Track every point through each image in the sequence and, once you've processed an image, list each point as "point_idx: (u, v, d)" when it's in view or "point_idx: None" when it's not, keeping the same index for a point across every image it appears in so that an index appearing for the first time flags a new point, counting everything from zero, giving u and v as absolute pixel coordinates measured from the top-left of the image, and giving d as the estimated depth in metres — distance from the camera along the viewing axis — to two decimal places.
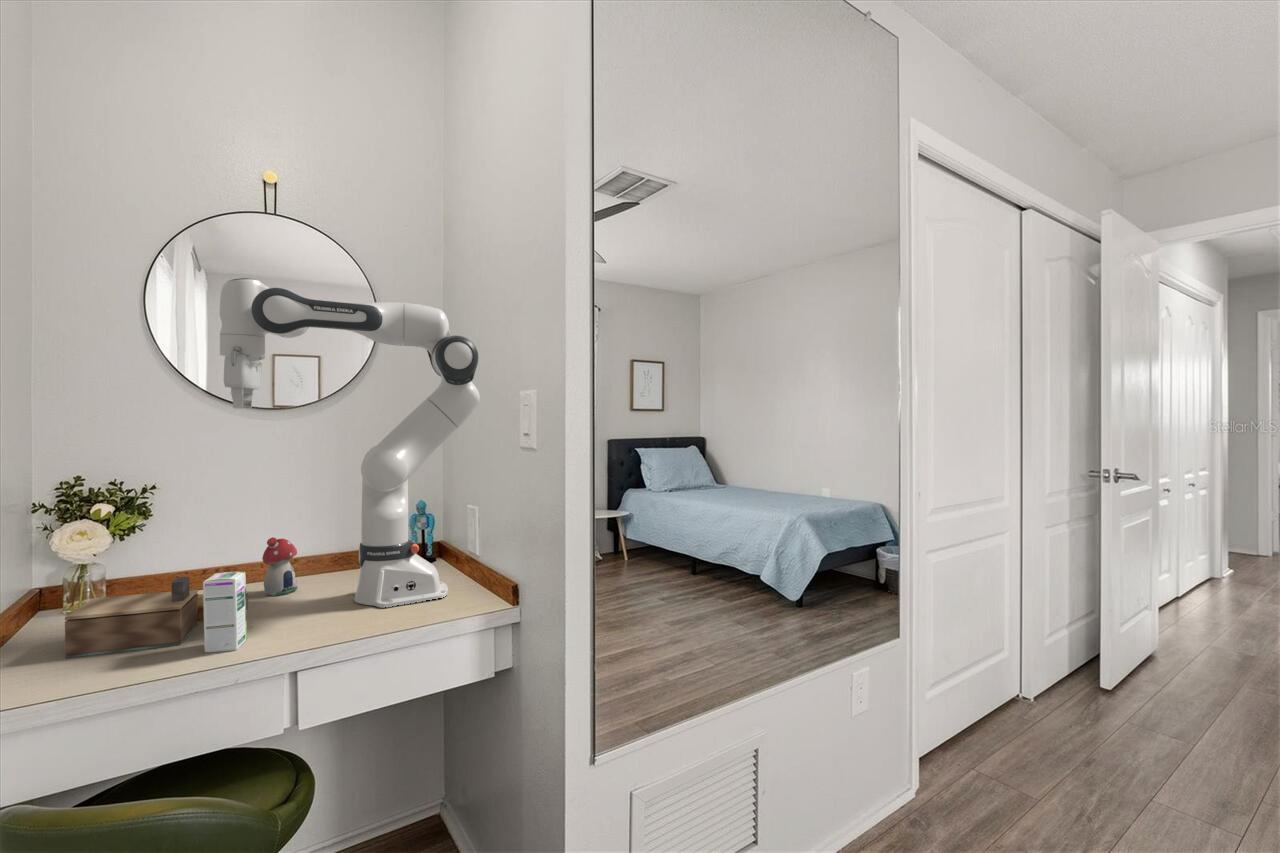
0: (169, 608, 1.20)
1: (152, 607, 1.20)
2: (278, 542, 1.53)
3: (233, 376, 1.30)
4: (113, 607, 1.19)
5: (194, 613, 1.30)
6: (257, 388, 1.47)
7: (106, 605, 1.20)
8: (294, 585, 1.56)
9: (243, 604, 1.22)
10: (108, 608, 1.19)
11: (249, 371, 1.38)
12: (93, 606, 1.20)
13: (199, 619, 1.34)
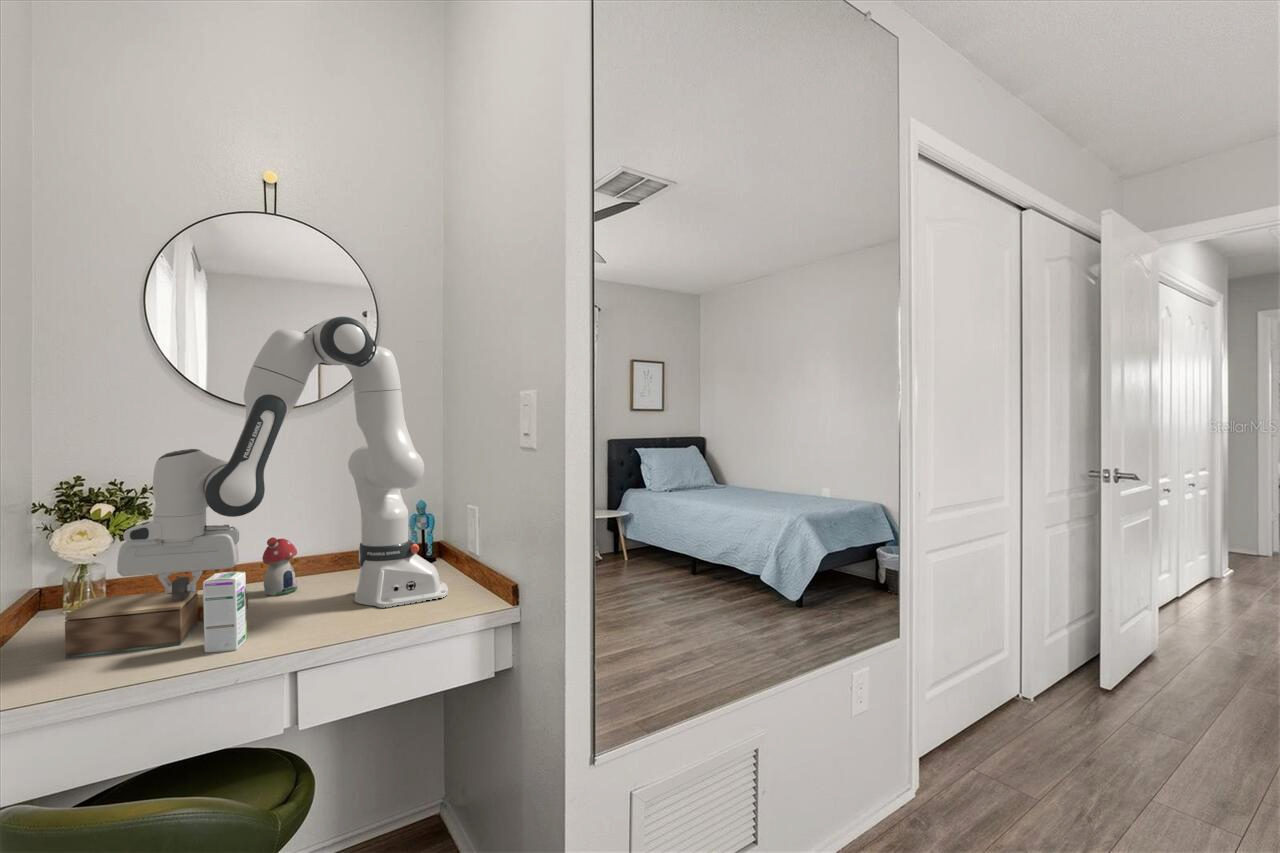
0: (169, 608, 1.20)
1: (152, 607, 1.20)
2: (278, 542, 1.53)
3: (237, 555, 1.29)
4: (113, 607, 1.19)
5: (194, 613, 1.30)
6: None
7: (106, 605, 1.20)
8: (294, 585, 1.56)
9: (243, 604, 1.22)
10: (108, 608, 1.19)
11: None
12: (93, 606, 1.20)
13: (201, 619, 1.34)
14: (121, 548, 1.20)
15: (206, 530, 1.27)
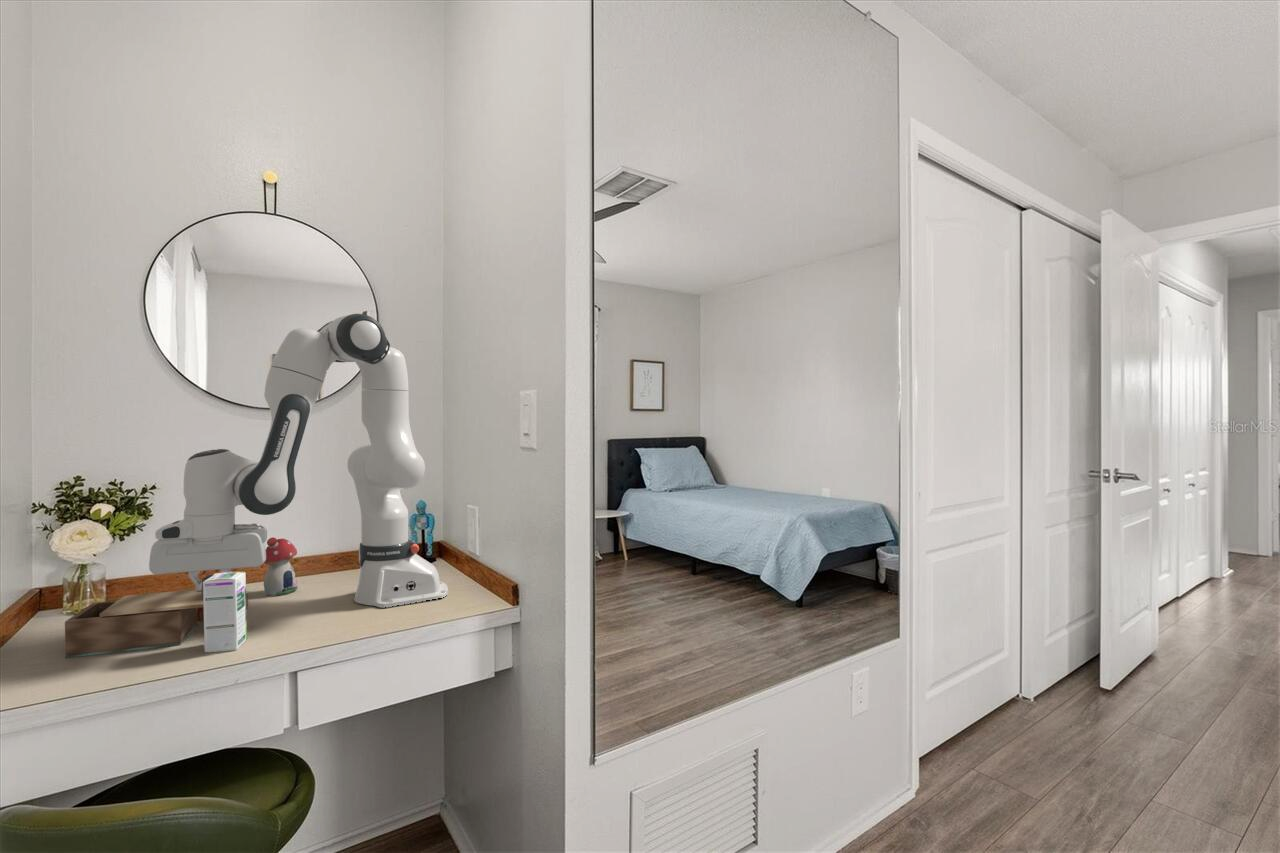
0: (200, 605, 1.22)
1: (184, 604, 1.22)
2: (278, 542, 1.53)
3: (264, 553, 1.31)
4: (145, 604, 1.21)
5: (194, 613, 1.30)
6: None
7: (138, 602, 1.22)
8: (294, 585, 1.56)
9: (243, 604, 1.22)
10: (141, 605, 1.21)
11: None
12: (126, 603, 1.22)
13: (200, 619, 1.34)
14: (153, 547, 1.22)
15: (234, 529, 1.29)
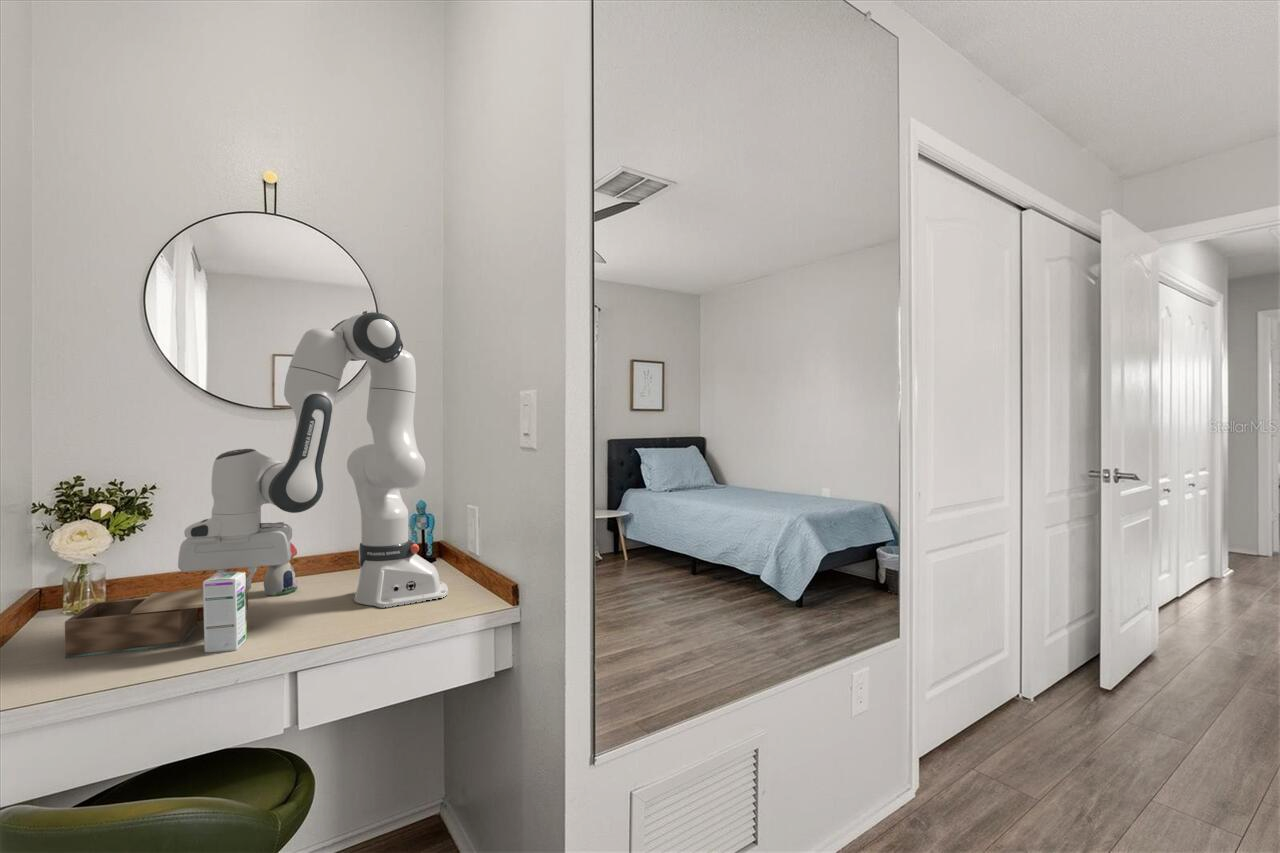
0: None
1: None
2: None
3: (290, 552, 1.33)
4: (174, 601, 1.23)
5: (194, 613, 1.30)
6: None
7: (167, 600, 1.24)
8: (294, 585, 1.56)
9: (243, 604, 1.22)
10: (170, 602, 1.23)
11: None
12: (155, 600, 1.24)
13: (199, 619, 1.34)
14: (182, 545, 1.24)
15: (261, 527, 1.30)
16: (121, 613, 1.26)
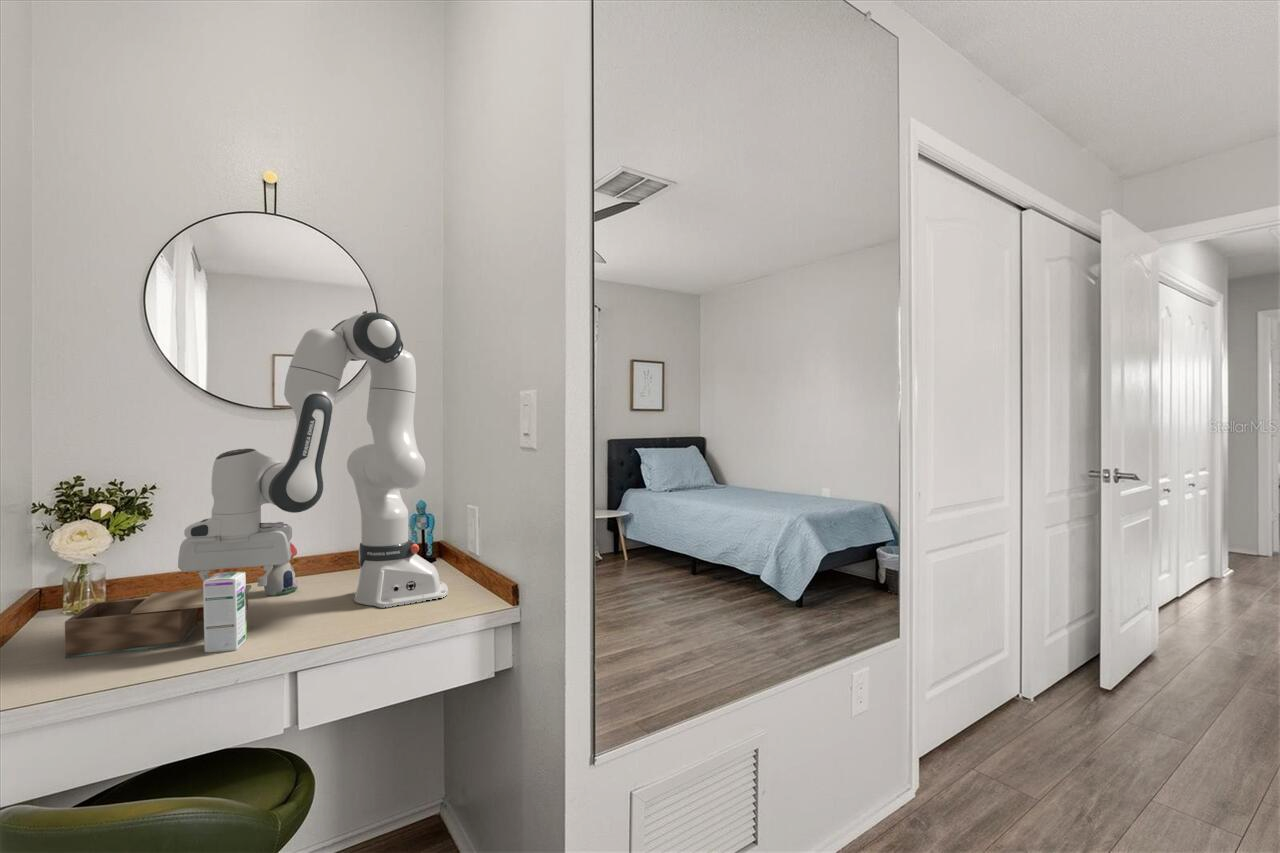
0: None
1: None
2: None
3: (290, 551, 1.33)
4: (175, 601, 1.23)
5: (194, 613, 1.30)
6: None
7: (167, 600, 1.24)
8: (294, 585, 1.56)
9: (243, 604, 1.22)
10: (170, 602, 1.23)
11: None
12: (155, 600, 1.24)
13: (198, 619, 1.34)
14: (182, 544, 1.24)
15: (261, 527, 1.30)
16: (121, 613, 1.26)
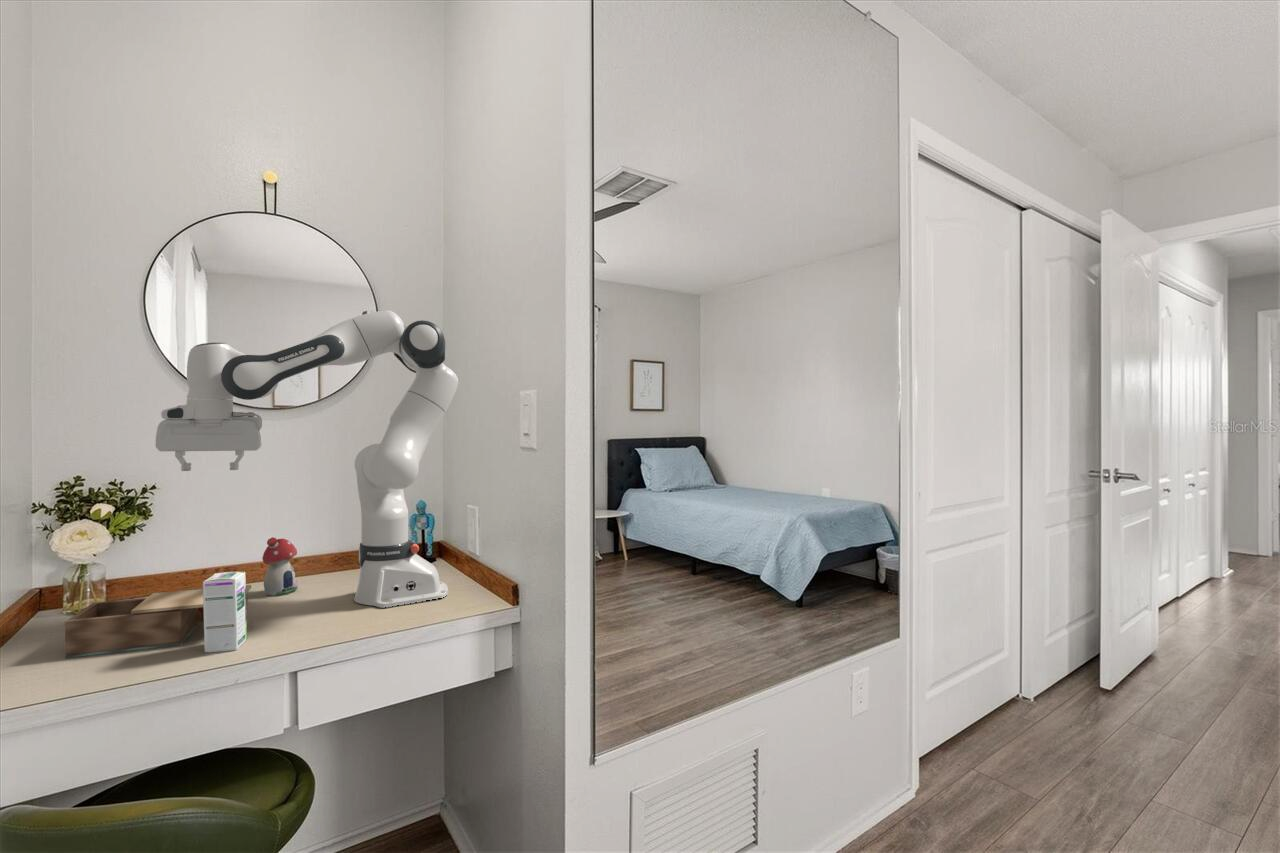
0: None
1: None
2: (278, 542, 1.53)
3: (260, 440, 1.45)
4: (175, 601, 1.23)
5: (194, 613, 1.30)
6: None
7: (167, 600, 1.24)
8: (294, 585, 1.56)
9: (243, 604, 1.22)
10: (170, 602, 1.23)
11: None
12: (155, 600, 1.24)
13: None
14: (159, 425, 1.35)
15: (232, 415, 1.42)
16: (121, 613, 1.26)
